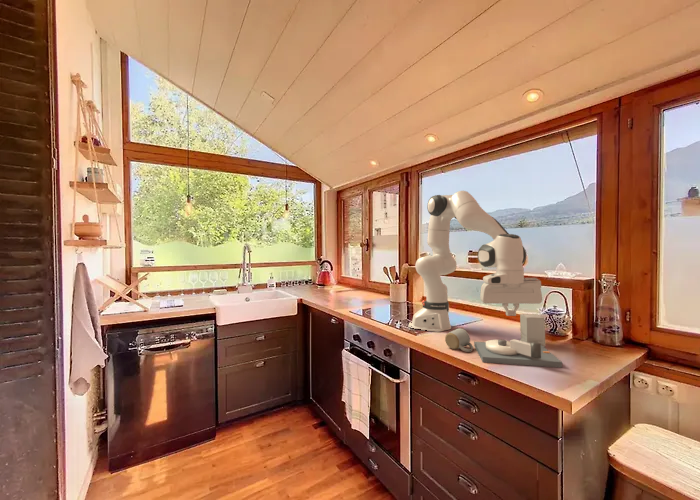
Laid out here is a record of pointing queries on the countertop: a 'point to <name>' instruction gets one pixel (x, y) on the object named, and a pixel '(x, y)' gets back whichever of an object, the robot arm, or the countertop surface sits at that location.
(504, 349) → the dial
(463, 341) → the ceramic mug
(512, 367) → the countertop surface
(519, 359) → the stand
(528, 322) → the supplement box
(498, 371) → the countertop surface
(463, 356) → the countertop surface
